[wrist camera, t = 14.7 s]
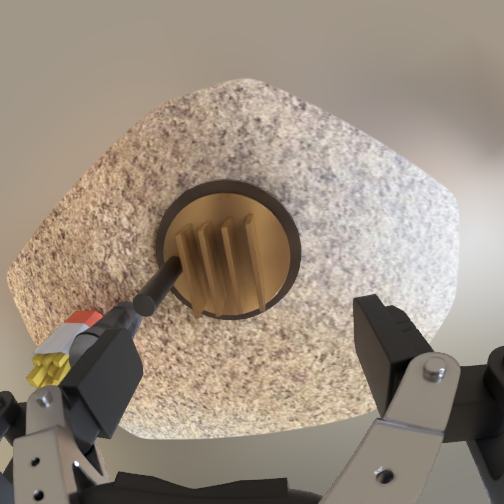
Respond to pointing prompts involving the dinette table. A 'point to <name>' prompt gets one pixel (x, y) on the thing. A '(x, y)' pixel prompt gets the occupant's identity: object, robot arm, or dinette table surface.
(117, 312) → the beverage cup
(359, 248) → the dinette table surface
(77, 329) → the french fries container
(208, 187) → the base
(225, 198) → the plate rack
